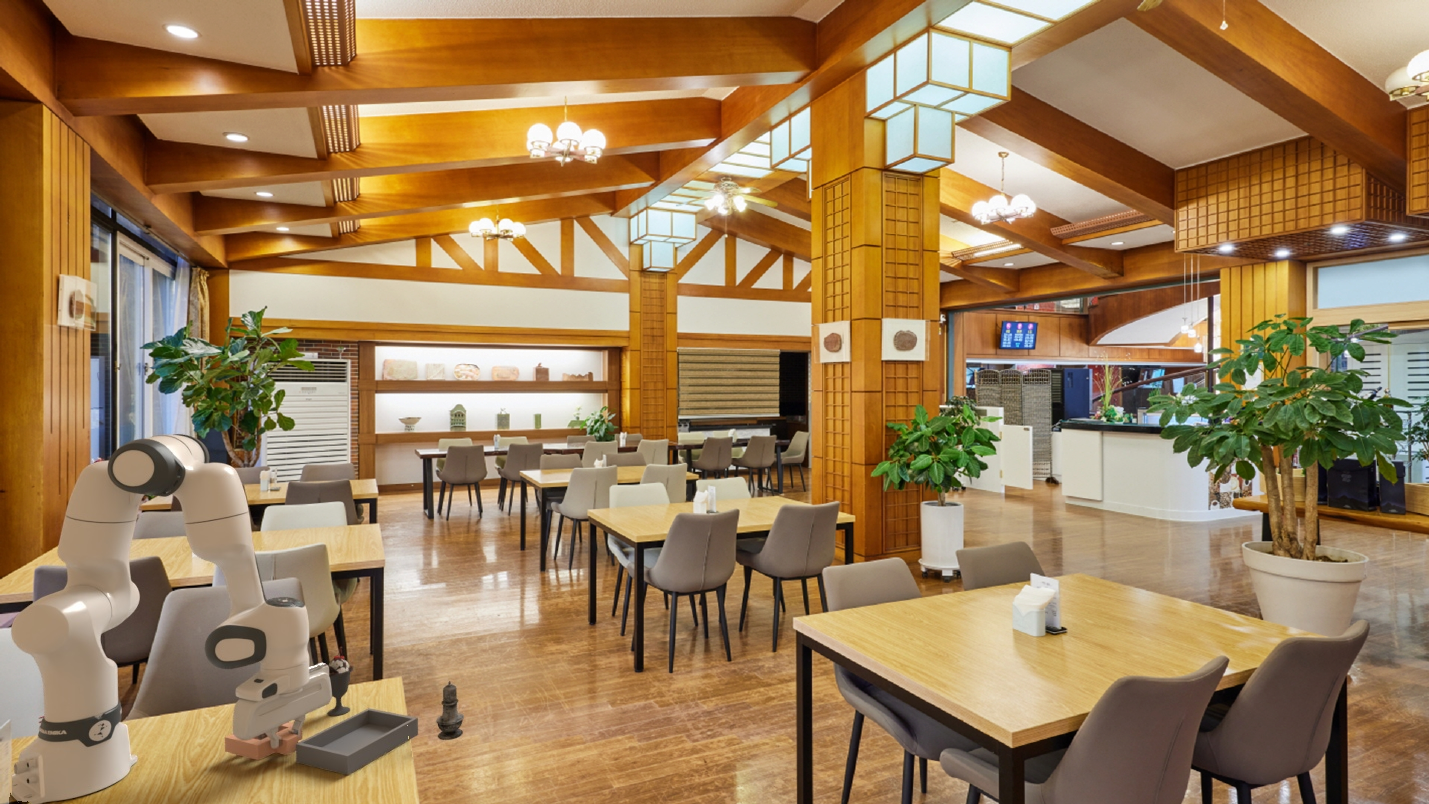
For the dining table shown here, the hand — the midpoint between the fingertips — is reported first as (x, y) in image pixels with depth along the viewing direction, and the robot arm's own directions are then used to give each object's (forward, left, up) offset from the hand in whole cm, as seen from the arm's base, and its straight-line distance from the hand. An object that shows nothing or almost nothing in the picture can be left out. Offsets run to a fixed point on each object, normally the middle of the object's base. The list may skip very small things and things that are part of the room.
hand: (285, 742), depth 153 cm
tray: (+11, +9, -4) cm, 14 cm away
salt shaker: (+25, +21, -4) cm, 33 cm away
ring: (-5, 0, -2) cm, 5 cm away
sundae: (-9, +21, -4) cm, 23 cm away
